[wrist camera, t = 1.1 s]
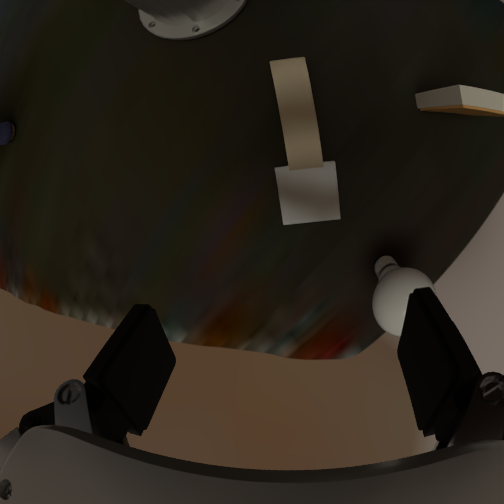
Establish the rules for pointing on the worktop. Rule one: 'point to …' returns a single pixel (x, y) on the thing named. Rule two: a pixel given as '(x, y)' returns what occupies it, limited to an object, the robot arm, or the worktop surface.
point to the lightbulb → (395, 293)
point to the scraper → (302, 150)
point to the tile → (462, 101)
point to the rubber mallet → (6, 132)
